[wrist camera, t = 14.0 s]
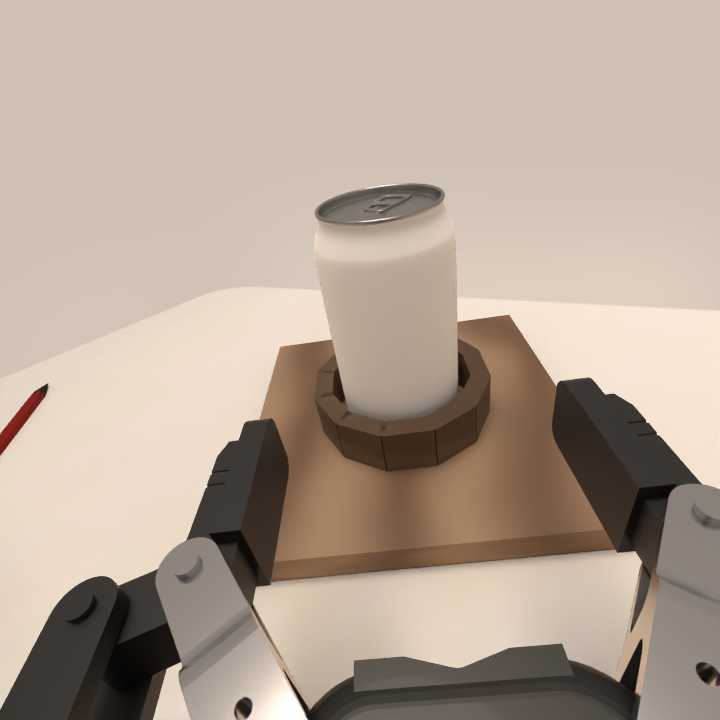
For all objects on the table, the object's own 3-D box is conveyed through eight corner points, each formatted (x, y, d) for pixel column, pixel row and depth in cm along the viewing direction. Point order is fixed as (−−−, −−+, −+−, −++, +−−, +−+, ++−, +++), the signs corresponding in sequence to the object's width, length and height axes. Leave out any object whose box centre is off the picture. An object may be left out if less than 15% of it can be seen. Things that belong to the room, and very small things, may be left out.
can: (328, 427, 24) (273, 222, 17) (383, 365, 28) (356, 181, 21) (429, 464, 21) (411, 229, 14) (474, 388, 25) (478, 179, 18)
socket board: (229, 584, 19) (196, 534, 17) (285, 362, 34) (271, 319, 31) (639, 546, 17) (663, 485, 15) (508, 331, 32) (510, 284, 30)
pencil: (56, 386, 37) (50, 377, 36) (-41, 516, 25) (-52, 506, 25) (46, 388, 37) (39, 379, 36) (-55, 520, 25) (-67, 510, 25)
